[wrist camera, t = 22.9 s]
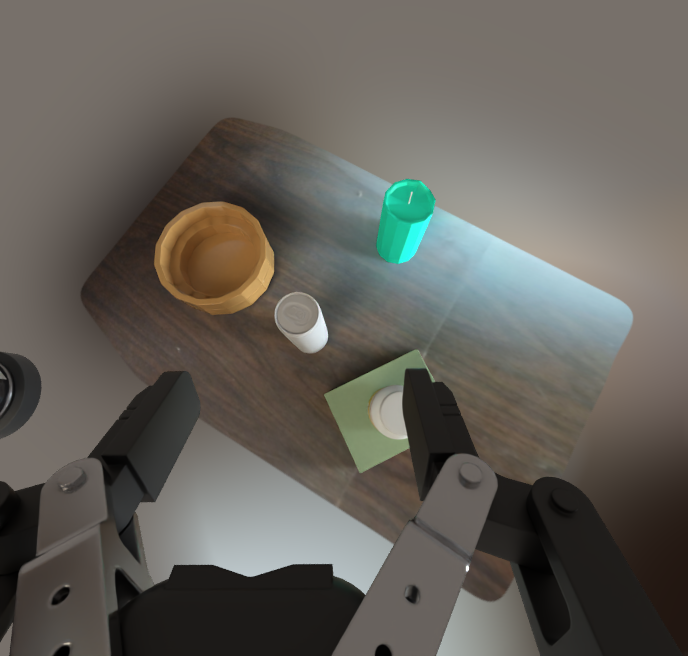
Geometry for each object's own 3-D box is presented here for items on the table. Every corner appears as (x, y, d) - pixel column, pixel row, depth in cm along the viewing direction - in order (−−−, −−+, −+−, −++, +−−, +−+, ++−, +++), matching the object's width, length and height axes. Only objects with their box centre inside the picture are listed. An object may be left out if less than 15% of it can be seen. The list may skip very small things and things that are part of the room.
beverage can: (317, 360, 43) (304, 345, 31) (287, 343, 43) (263, 322, 32) (334, 329, 44) (329, 304, 32) (304, 313, 44) (288, 282, 33)
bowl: (195, 332, 44) (175, 323, 39) (162, 246, 47) (140, 228, 42) (290, 288, 45) (283, 274, 40) (252, 207, 48) (241, 185, 43)
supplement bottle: (358, 413, 38) (360, 417, 29) (384, 378, 39) (395, 371, 30) (394, 442, 37) (409, 456, 28) (420, 405, 38) (443, 407, 29)
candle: (391, 271, 46) (405, 226, 34) (368, 239, 47) (373, 185, 35) (425, 250, 46) (450, 199, 34) (401, 219, 47) (418, 160, 36)
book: (359, 468, 40) (360, 473, 37) (325, 394, 42) (323, 394, 39) (449, 421, 41) (457, 422, 38) (412, 352, 43) (417, 348, 40)
